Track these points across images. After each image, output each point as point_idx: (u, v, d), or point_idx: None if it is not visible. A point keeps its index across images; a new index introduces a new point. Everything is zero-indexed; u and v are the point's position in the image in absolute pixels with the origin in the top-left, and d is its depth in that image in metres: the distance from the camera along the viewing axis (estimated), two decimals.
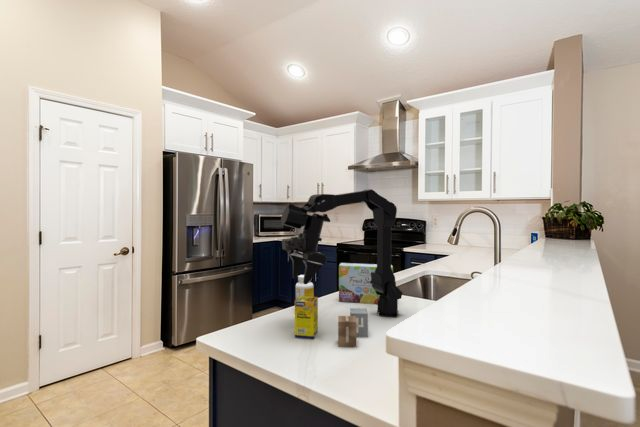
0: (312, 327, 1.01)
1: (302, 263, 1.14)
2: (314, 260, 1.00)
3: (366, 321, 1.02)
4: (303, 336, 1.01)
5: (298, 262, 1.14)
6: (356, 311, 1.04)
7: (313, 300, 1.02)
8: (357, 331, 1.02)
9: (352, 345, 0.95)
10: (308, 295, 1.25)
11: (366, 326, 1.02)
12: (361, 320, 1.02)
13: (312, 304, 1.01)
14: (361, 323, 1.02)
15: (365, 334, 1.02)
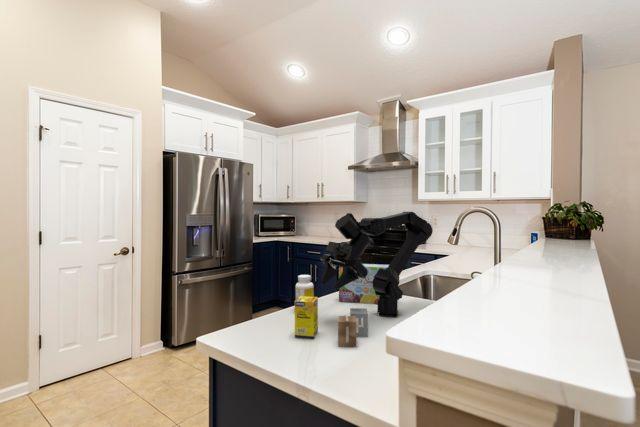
0: (312, 327, 1.01)
1: (333, 275, 1.14)
2: (358, 269, 1.03)
3: (366, 321, 1.02)
4: (303, 336, 1.01)
5: (330, 272, 1.14)
6: (356, 311, 1.04)
7: (313, 300, 1.02)
8: (357, 331, 1.02)
9: (352, 345, 0.95)
10: (308, 295, 1.25)
11: (366, 326, 1.02)
12: (361, 320, 1.02)
13: (312, 304, 1.01)
14: (361, 323, 1.02)
15: (365, 334, 1.02)
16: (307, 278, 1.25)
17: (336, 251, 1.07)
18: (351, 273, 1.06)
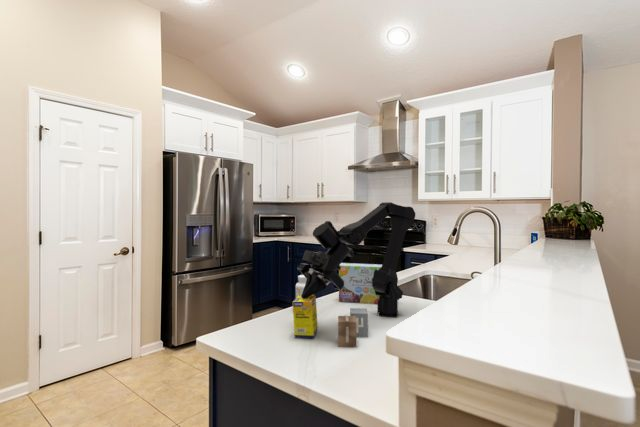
0: (311, 326, 1.01)
1: None
2: (334, 280, 0.98)
3: (366, 321, 1.02)
4: (303, 336, 1.01)
5: None
6: (356, 311, 1.04)
7: (311, 299, 1.02)
8: (357, 331, 1.02)
9: (352, 345, 0.95)
10: None
11: (366, 326, 1.02)
12: (361, 320, 1.02)
13: (310, 304, 1.00)
14: (361, 323, 1.02)
15: (365, 334, 1.02)
16: None
17: (312, 260, 1.02)
18: (320, 282, 1.03)
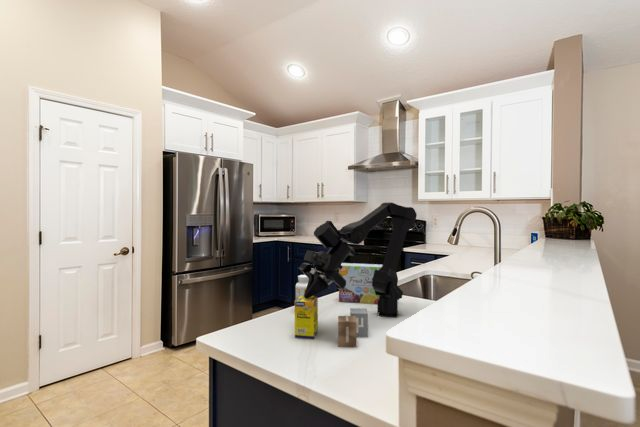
0: (312, 327, 1.01)
1: None
2: (336, 280, 0.98)
3: (366, 321, 1.02)
4: (303, 336, 1.01)
5: None
6: (356, 311, 1.04)
7: (313, 300, 1.02)
8: (357, 331, 1.02)
9: (352, 345, 0.95)
10: None
11: (366, 326, 1.02)
12: (361, 320, 1.02)
13: (312, 304, 1.01)
14: (361, 323, 1.02)
15: (365, 334, 1.02)
16: (307, 278, 1.25)
17: (314, 260, 1.02)
18: (322, 282, 1.04)
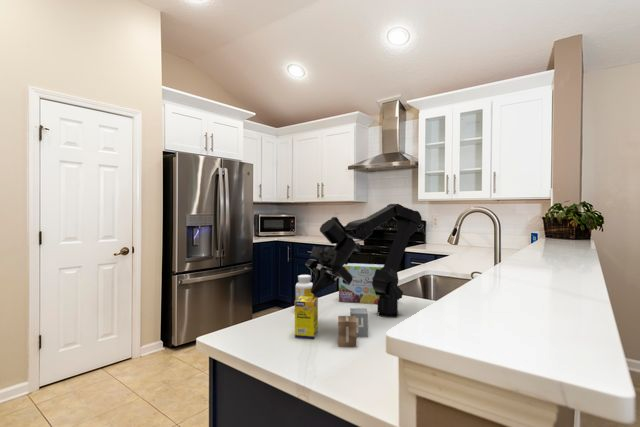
0: (312, 327, 1.01)
1: None
2: (343, 275, 1.00)
3: (366, 321, 1.02)
4: (303, 336, 1.01)
5: None
6: (356, 311, 1.04)
7: (313, 300, 1.02)
8: (357, 331, 1.02)
9: (352, 345, 0.95)
10: (308, 295, 1.25)
11: (366, 326, 1.02)
12: (361, 320, 1.02)
13: (312, 304, 1.01)
14: (361, 323, 1.02)
15: (365, 334, 1.02)
16: (307, 278, 1.25)
17: (320, 256, 1.04)
18: (329, 277, 1.05)
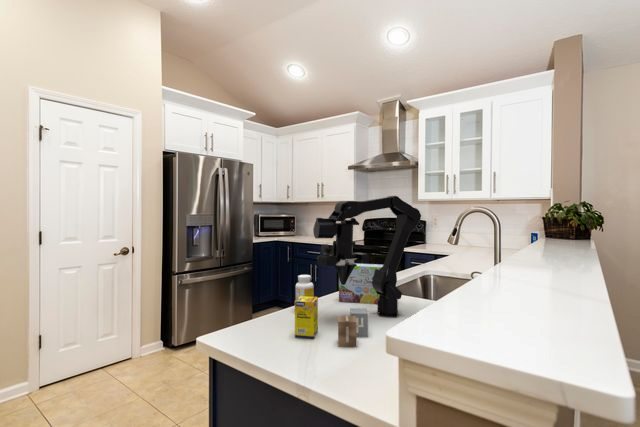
0: (312, 327, 1.01)
1: (347, 270, 1.16)
2: (319, 263, 1.12)
3: (366, 321, 1.02)
4: (303, 336, 1.01)
5: None
6: (356, 311, 1.04)
7: (313, 300, 1.02)
8: (357, 331, 1.02)
9: (352, 345, 0.95)
10: (308, 295, 1.25)
11: (366, 326, 1.02)
12: (361, 320, 1.02)
13: (312, 304, 1.01)
14: (361, 323, 1.02)
15: (365, 334, 1.02)
16: (307, 278, 1.25)
17: (326, 255, 1.21)
18: None
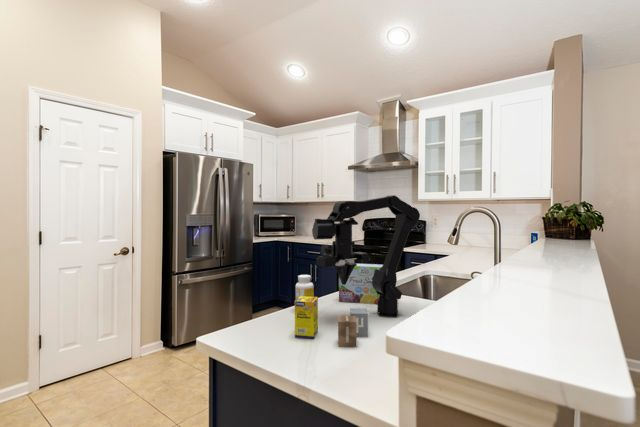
0: (312, 327, 1.01)
1: (347, 270, 1.16)
2: (318, 264, 1.13)
3: (366, 321, 1.02)
4: (303, 336, 1.01)
5: None
6: (356, 311, 1.04)
7: (313, 300, 1.02)
8: (357, 331, 1.02)
9: (352, 345, 0.95)
10: (308, 295, 1.25)
11: (366, 326, 1.02)
12: (361, 320, 1.02)
13: (312, 304, 1.01)
14: (361, 323, 1.02)
15: (365, 334, 1.02)
16: (307, 278, 1.25)
17: (326, 255, 1.21)
18: None
